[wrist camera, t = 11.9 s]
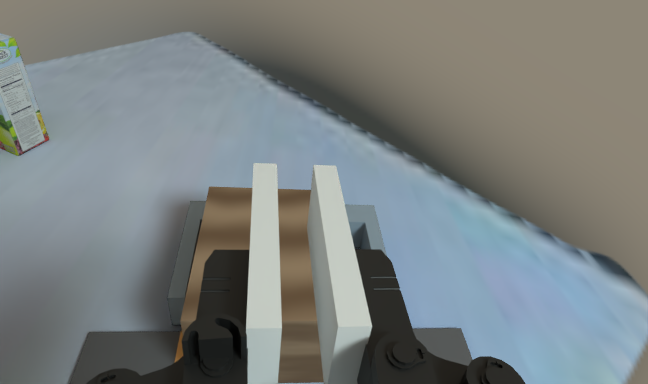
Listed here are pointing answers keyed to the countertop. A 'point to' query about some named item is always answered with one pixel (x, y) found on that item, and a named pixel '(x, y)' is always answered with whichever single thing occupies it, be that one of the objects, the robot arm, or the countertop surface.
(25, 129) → the snack box
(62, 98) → the countertop surface
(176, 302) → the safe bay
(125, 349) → the mats
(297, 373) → the walnut block
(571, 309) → the countertop surface
